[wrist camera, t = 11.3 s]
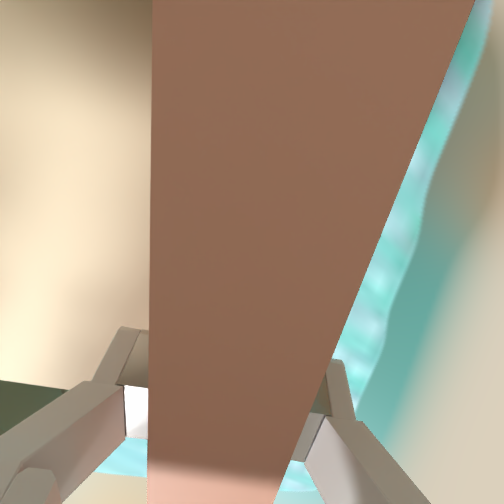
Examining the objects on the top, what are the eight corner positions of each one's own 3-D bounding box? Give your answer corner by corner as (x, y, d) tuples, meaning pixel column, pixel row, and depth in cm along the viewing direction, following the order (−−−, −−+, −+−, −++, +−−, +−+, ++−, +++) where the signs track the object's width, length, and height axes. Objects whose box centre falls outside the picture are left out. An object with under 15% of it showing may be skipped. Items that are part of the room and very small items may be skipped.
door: (202, 328, 22) (132, 621, 11) (242, -10, 13) (91, -185, 2) (269, 339, 23) (264, 637, 12) (353, 11, 14) (709, -55, 2)
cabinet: (-19, 250, 26) (-212, 399, 15) (-109, -71, 16) (-736, -231, 6) (257, 294, 26) (247, 462, 16) (319, 12, 17) (384, -10, 7)
